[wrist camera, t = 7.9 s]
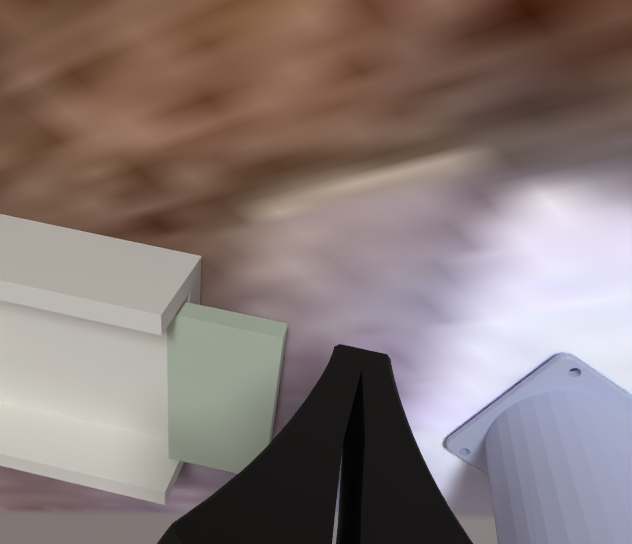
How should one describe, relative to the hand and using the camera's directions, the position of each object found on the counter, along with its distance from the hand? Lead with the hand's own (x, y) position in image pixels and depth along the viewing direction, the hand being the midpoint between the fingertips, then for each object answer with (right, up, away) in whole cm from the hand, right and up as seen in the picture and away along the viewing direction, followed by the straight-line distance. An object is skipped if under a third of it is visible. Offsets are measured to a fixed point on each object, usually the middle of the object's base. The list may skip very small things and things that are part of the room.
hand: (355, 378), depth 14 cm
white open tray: (-13, 0, +14) cm, 19 cm away
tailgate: (-8, -2, +12) cm, 14 cm away
